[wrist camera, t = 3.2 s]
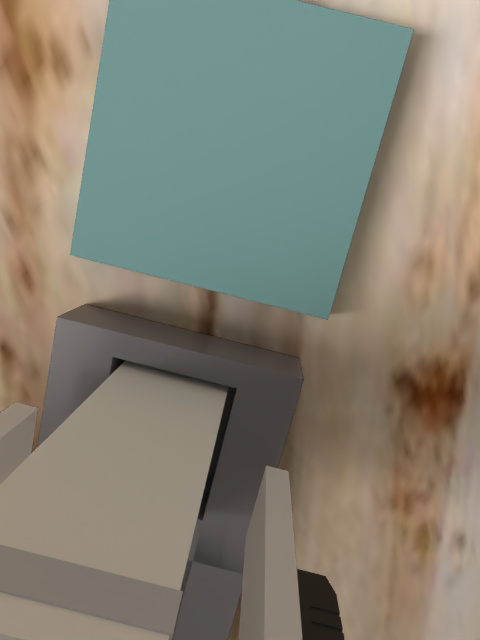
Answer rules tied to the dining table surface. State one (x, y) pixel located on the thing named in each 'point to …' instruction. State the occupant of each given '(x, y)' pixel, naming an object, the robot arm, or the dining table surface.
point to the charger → (109, 511)
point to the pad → (235, 144)
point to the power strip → (230, 447)
